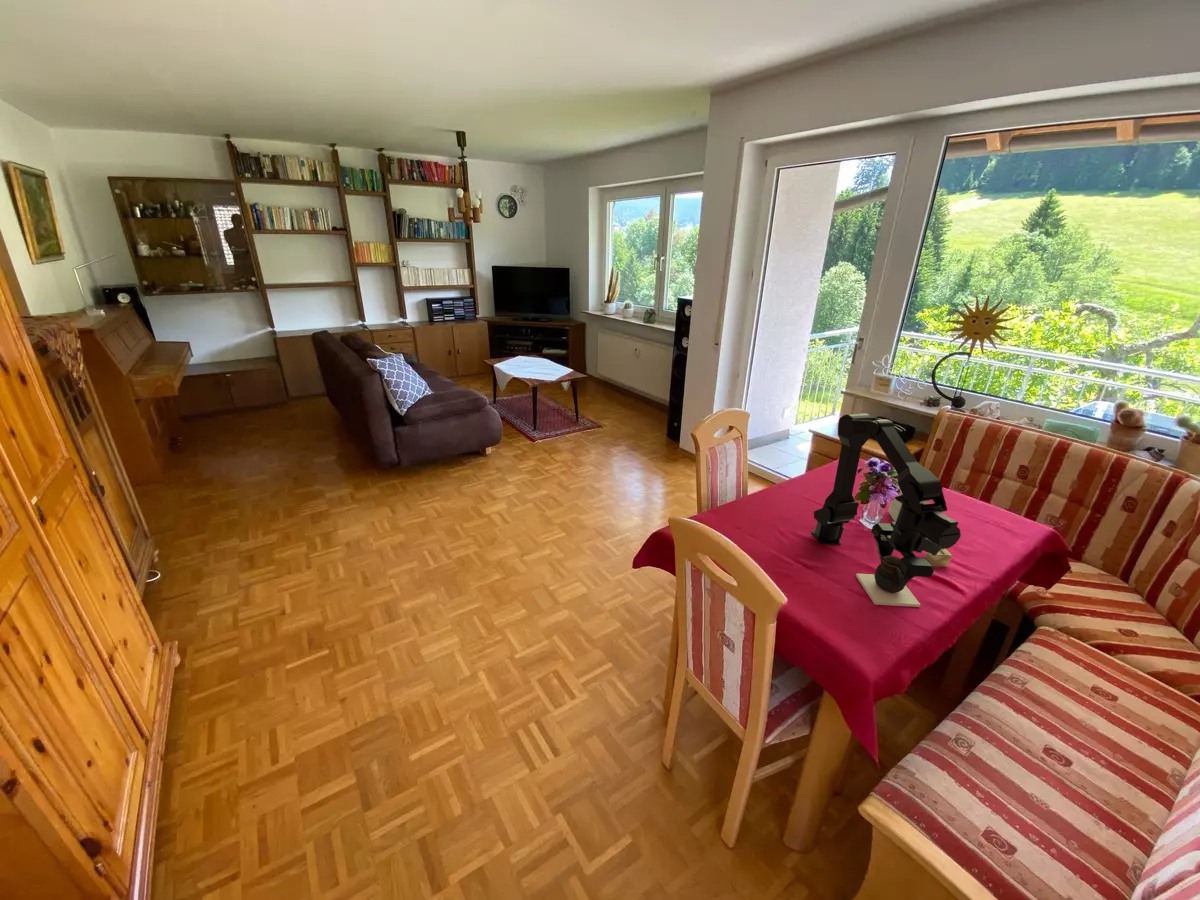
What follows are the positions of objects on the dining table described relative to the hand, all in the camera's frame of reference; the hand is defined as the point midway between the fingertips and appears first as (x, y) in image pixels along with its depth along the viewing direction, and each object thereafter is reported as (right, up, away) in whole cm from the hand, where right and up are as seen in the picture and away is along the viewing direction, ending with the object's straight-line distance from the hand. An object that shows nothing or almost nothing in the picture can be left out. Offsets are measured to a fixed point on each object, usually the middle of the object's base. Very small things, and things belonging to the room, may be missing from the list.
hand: (891, 575), depth 125 cm
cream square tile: (0, -4, +2) cm, 5 cm away
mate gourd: (0, -4, +2) cm, 4 cm away
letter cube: (+21, 0, +14) cm, 25 cm away
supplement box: (+25, +10, +35) cm, 44 cm away
